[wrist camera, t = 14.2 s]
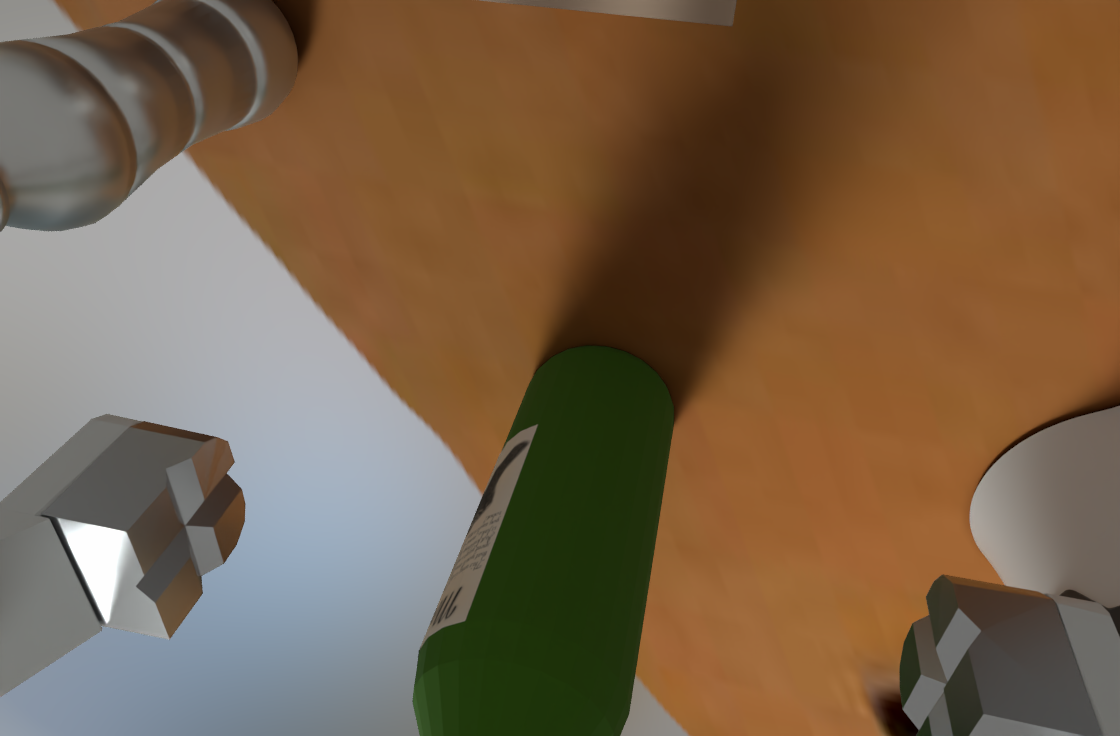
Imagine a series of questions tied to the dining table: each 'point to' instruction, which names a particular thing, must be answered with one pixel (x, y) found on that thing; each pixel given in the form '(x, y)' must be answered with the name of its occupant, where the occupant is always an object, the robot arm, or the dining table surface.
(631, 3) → the block
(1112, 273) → the dining table surface
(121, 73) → the plastic bottle
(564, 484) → the wine bottle
